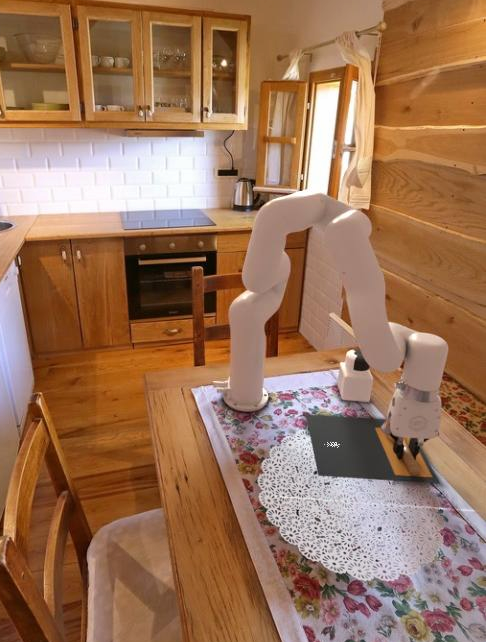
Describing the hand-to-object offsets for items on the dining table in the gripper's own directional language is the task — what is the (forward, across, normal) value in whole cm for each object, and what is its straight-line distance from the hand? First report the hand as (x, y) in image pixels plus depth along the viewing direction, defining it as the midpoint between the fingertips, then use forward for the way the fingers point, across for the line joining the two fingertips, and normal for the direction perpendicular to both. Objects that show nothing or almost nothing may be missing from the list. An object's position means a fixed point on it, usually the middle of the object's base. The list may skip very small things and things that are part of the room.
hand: (404, 454), depth 95 cm
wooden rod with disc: (0, 0, +2) cm, 2 cm away
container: (+1, -6, +24) cm, 24 cm away
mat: (0, -8, +3) cm, 9 cm away
